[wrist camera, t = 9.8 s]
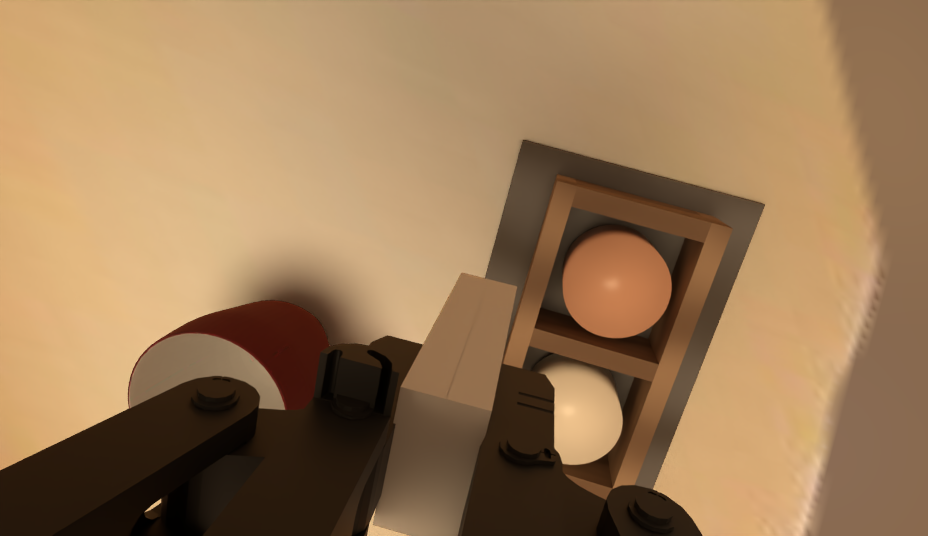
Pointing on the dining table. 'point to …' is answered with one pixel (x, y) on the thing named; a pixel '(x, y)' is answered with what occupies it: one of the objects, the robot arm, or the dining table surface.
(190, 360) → the mug
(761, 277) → the dining table surface
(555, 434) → the cream egg
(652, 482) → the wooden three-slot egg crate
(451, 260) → the dining table surface
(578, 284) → the brown oval piece
